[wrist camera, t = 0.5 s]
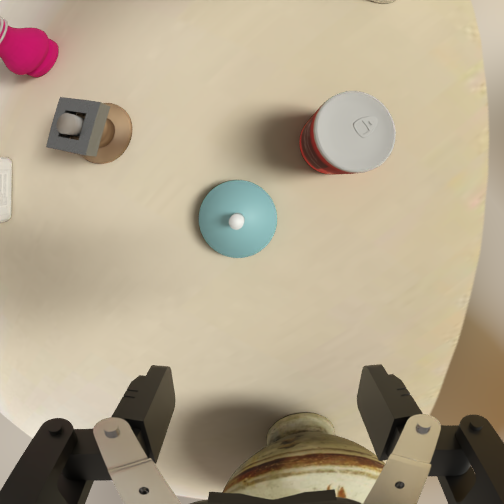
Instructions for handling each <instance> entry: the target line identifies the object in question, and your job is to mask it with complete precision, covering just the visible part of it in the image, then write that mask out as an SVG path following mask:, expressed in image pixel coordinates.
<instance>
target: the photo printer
mask: <svg viewBox="0 0 504 504" xmlns="http://www.w3.org/2000/svg"><path fill="white" fill-rule="evenodd" d="M11 194H12V161H11V159H9V158H8V157H0V223H2V222H6V221H8V220H9V219H10V218H11Z"/></svg>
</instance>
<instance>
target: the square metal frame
mask: <svg viewBox="0 0 504 504" xmlns="http://www.w3.org/2000/svg"><path fill="white" fill-rule="evenodd" d="M109 110H110V106H108V105H106V104H103V103H101V102H95V101H88V100H80V99H71V98H62V97H60V99H59V102H58V105H57V109H56V112H55V115H54V119H53V123H52V126H51V130H50V134H49V138H48V142H47V146H46V147H48V148H53V149H58V150H63V151H67V152H72V153H77V154H81V155H86V156H95V157H96V156H97V152H98V148H99V144H100V141H101V137H102V133H103V130H104V126H105V123H106V120H107V116H108V113H109ZM64 113H69V114H72V115H76V114H81V115H86V116H85V119H84V123H83V126H82V130H81V133H80V137H79V140H75V139H70V135H68V134H62V133H60V132H58V130H57V121H58V119H59V117H60V116H61V115H62V114H64Z"/></svg>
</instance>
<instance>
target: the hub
mask: <svg viewBox="0 0 504 504" xmlns="http://www.w3.org/2000/svg"><path fill="white" fill-rule="evenodd" d="M199 226H200V230H201V233H202V235H203V237H204V239H205V241H206V242H207V243H208V244H209V246H210V247H211V248H213V249H214V250H215V251H217V252H218V253H220V254H222V255H225V256H228V257H233V258H243V257H248V256H251V255H254V254H256V253H258V252H259V251H261V250H262V249H263V248H265V247H266V246H267V244H268V243H269V242H270V241H271V239H272V237H273V235H274V233H275V230H276V226H277V213H276V209H275V205H274V203H273V201H272V199H271V198H270V196H269V195H268V194H267V193H266V192H265V191H264V190H263V189H262V188H261V187H259V186H258V185H256V184H254V183H251V182H248V181H243V180H233V181H228V182H225V183H222V184H220V185H218V186H216V187H215V188H214V189H212V190H211V191H210V192H209V193H208V194H207V196H206V197H205V199H204V200H203V202H202V205H201V208H200V212H199Z"/></svg>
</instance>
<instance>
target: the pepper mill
mask: <svg viewBox="0 0 504 504" xmlns="http://www.w3.org/2000/svg"><path fill="white" fill-rule="evenodd" d="M0 57H1V58H2V60H3V61H4V63H5V65H6V67H7V68H8V69H9V70H10V71H12V72H13V73H15V74H18V75H24V74H27V75H30V76H33V77H40V76H42V75H44V74H46V73H47V72H48V71H49V70H50V69H51V68H52V67H53V65H54V63H55V62H56V59H57V57H58V46H57V44H56V43H55V42H54V41H52V40H51V39H49V38H48V37H47V35H46V33H45V32H44V31H42V30H40V29H37V28H12V27H10V26H8V23H7V21H6V20H5V19H3V18H2V17H0Z"/></svg>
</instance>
